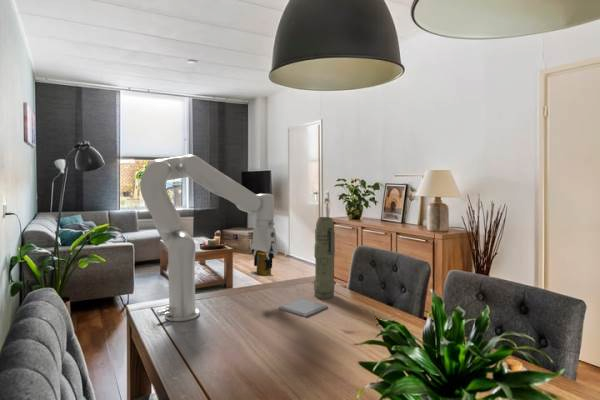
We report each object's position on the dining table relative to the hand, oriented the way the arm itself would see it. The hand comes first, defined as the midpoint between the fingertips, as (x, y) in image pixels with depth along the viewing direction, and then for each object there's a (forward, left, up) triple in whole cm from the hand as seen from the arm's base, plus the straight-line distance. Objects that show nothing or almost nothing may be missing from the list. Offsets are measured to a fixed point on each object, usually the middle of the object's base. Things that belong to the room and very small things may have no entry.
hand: (262, 266), depth 159 cm
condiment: (0, +1, -3) cm, 4 cm away
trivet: (+7, -16, -16) cm, 24 cm away
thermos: (+25, -13, -16) cm, 32 cm away
